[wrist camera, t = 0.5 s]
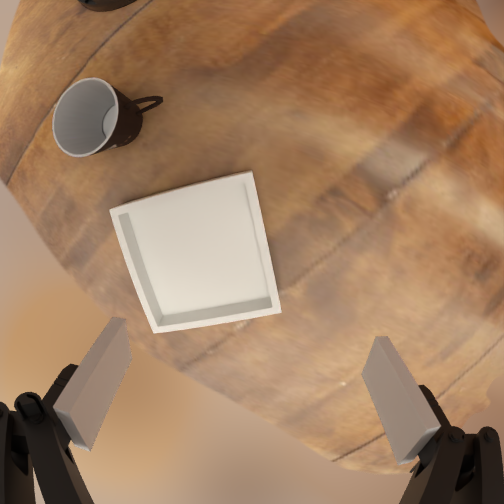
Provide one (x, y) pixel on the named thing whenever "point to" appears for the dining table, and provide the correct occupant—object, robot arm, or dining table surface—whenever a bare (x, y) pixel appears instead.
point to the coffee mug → (96, 118)
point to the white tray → (199, 254)
